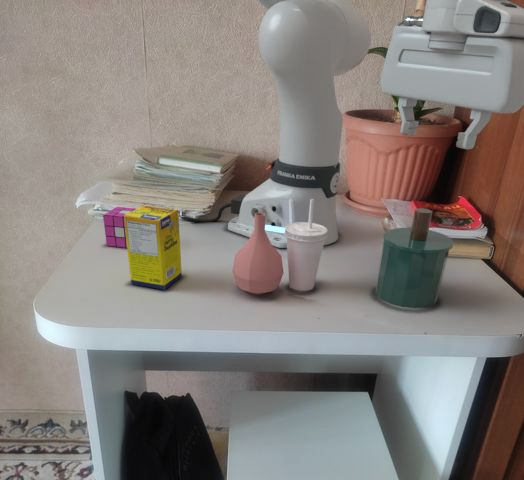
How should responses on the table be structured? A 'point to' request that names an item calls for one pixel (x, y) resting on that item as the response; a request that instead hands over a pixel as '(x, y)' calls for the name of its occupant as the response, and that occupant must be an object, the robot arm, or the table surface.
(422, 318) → the table surface
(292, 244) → the smoothie
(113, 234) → the puzzle toy
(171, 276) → the supplement box
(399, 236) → the lid
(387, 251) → the crock
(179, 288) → the table surface
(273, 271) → the pink vase
